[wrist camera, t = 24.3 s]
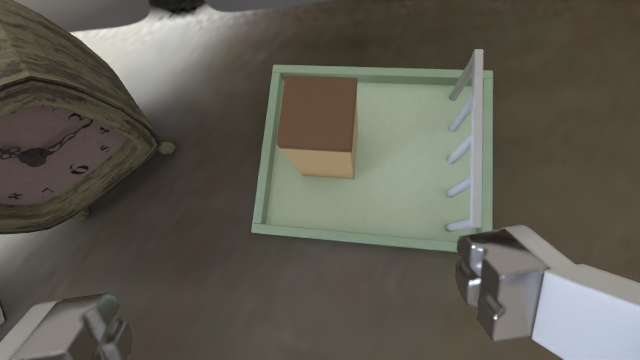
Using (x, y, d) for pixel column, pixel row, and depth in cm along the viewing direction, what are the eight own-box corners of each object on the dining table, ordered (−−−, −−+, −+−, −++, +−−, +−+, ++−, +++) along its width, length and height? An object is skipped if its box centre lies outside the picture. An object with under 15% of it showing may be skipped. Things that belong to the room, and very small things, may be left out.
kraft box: (301, 176, 32) (275, 144, 22) (307, 126, 33) (284, 74, 23) (354, 179, 32) (351, 148, 22) (358, 128, 32) (357, 77, 23)
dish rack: (258, 233, 32) (225, 228, 25) (278, 76, 35) (254, 26, 27) (482, 254, 30) (526, 256, 22) (484, 82, 33) (523, 29, 25)
